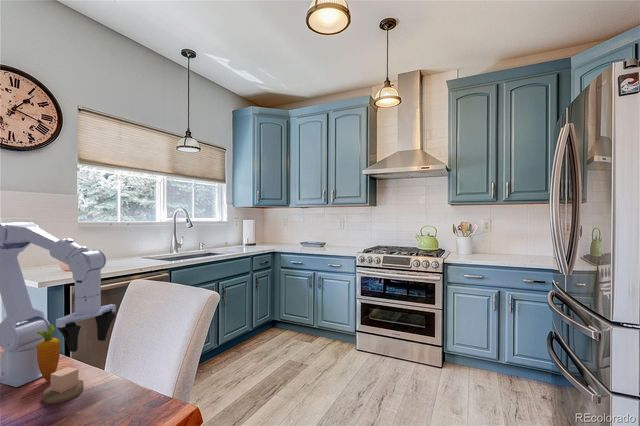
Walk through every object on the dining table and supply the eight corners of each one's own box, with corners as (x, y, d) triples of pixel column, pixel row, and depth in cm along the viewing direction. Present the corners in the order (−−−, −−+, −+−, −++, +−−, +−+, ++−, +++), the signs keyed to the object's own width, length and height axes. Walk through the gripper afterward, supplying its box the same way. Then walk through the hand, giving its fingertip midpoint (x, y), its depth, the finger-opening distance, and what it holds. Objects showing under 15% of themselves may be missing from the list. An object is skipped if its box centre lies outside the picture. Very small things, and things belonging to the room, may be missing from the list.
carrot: (46, 386, 83) (46, 329, 84) (31, 385, 84) (31, 328, 85) (65, 377, 88) (64, 323, 89) (50, 375, 89) (50, 322, 90)
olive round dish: (35, 401, 78) (35, 393, 78) (70, 384, 85) (70, 377, 85) (56, 407, 75) (56, 398, 75) (91, 389, 82) (91, 382, 82)
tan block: (50, 390, 79) (50, 374, 79) (68, 382, 83) (68, 366, 83) (61, 393, 77) (61, 376, 78) (78, 384, 81) (78, 369, 81)
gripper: (69, 303, 78) (69, 358, 78) (123, 290, 92) (123, 337, 91) (50, 301, 80) (50, 355, 80) (105, 288, 94) (105, 334, 94)
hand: (88, 345), depth 86 cm, fingers open, 7 cm apart
